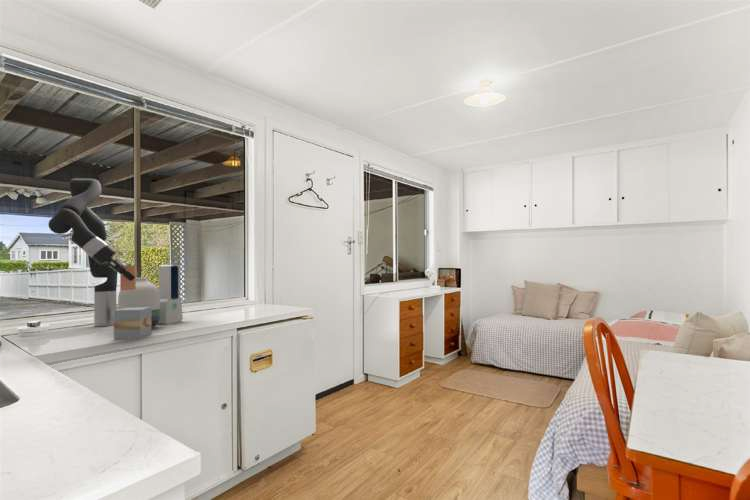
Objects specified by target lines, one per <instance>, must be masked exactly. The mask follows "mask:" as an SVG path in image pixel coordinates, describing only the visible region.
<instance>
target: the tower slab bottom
mask: <svg viewBox="0 0 750 500" xmlns="http://www.w3.org/2000/svg"><path fill="white" fill-rule="evenodd" d="M150 335H152V328H151V326H149V327H146V328H143V329H140V330H114V329H113V340H130V339H131V340H132V339H135V340H137V339H142V338H145V337H147V336H150Z"/></svg>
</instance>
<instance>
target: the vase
mask: <svg viewBox="0 0 750 500" xmlns="http://www.w3.org/2000/svg"><path fill="white" fill-rule="evenodd" d="M135 307H152V326H151V329H153V328H154V327H156V326H157V325H159V324H158V322H159V319H160V293H159V287H158V286H156V285H155V284H154V283H153V282H151V281H149V279H148V277H136V289H135V290H119V292H118V295H117V310H119V309H124V308H135Z"/></svg>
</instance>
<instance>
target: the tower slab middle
mask: <svg viewBox="0 0 750 500" xmlns="http://www.w3.org/2000/svg"><path fill="white" fill-rule="evenodd" d="M149 326H152V316H151V317H147V318H144V319H141V320H114V325H113V331H114V330H140V329H143V328H146V327H149Z"/></svg>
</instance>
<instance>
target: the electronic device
mask: <svg viewBox="0 0 750 500" xmlns="http://www.w3.org/2000/svg"><path fill="white" fill-rule="evenodd" d="M158 289H159V293H160V319H159V322H158V324H157V325H162V324H168V325H170V324H171V323H172V324H175V323H174V322H177V323H180V322H179V321H181V322H182V321H183V318H184V317H183V316H184V315H183V306H182V298H180V265H178V264H161V265H159V266H158ZM172 324H171V325H172Z"/></svg>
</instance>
